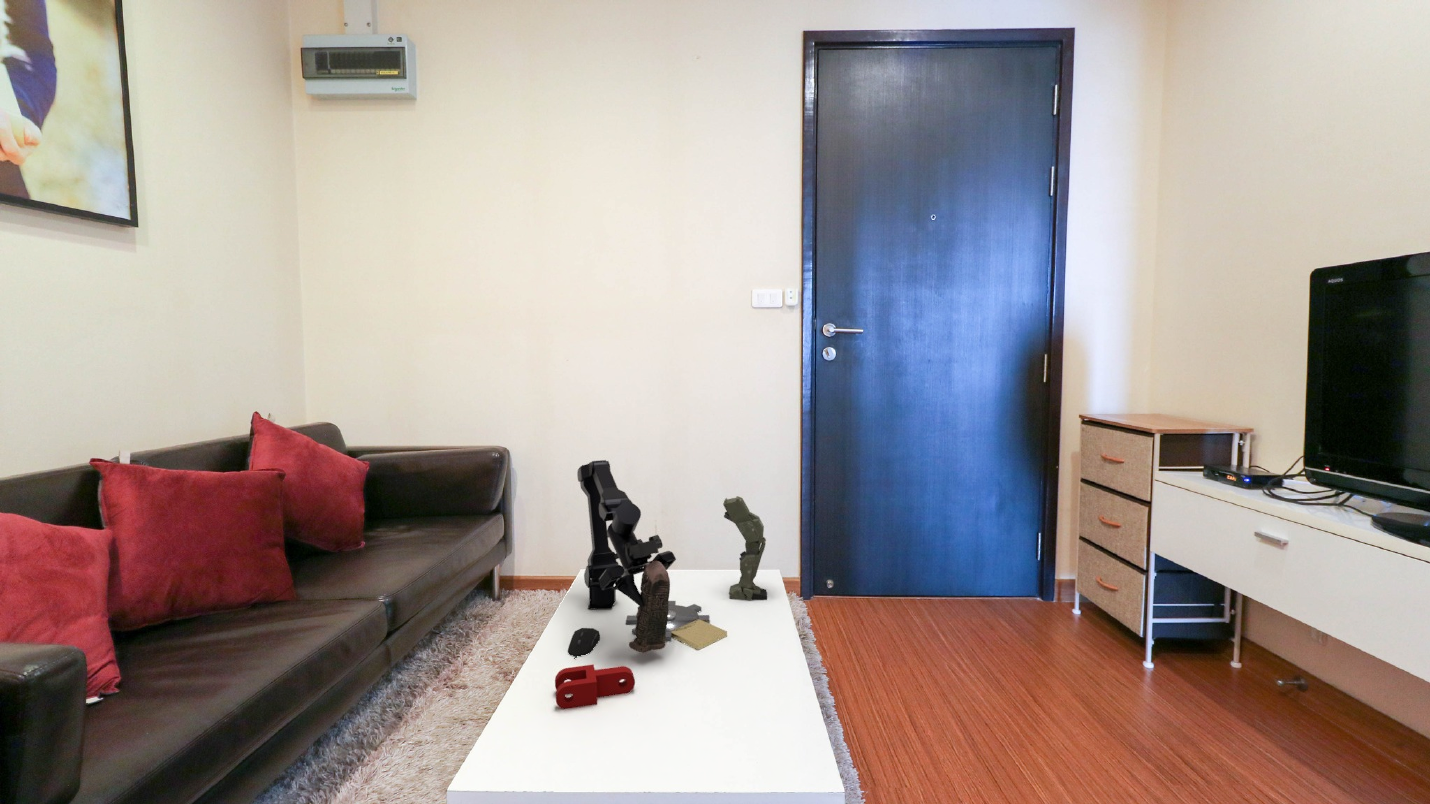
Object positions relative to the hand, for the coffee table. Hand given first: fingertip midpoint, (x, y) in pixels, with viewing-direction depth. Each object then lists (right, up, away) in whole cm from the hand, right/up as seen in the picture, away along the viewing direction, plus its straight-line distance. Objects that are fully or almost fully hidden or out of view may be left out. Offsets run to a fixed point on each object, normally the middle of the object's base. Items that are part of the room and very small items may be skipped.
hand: (653, 602), depth 144 cm
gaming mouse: (-18, -13, +6) cm, 23 cm away
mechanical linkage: (-11, -15, -14) cm, 23 cm away
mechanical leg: (+23, -10, +37) cm, 45 cm away
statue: (-1, -11, +1) cm, 11 cm away
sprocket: (+4, -12, +18) cm, 22 cm away
